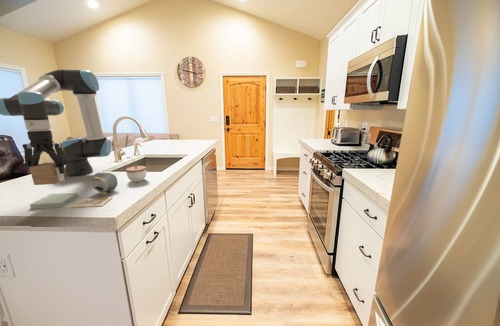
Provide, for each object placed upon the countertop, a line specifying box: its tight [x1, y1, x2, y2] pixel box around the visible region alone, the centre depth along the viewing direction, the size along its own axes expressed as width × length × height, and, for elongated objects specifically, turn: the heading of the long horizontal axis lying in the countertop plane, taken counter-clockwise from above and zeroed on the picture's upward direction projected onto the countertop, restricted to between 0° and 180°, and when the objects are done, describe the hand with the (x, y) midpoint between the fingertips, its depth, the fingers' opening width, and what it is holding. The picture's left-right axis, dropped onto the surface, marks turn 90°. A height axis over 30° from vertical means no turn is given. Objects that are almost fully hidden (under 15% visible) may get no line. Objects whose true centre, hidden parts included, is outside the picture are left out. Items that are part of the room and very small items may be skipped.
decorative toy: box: [91, 172, 118, 195], centre depth 109 cm, size 12×10×20 cm
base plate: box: [29, 192, 79, 210], centre depth 100 cm, size 12×12×2 cm
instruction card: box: [69, 196, 113, 209], centre depth 99 cm, size 9×13×1 cm
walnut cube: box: [29, 161, 68, 186], centre depth 96 cm, size 8×8×8 cm
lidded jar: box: [125, 165, 147, 183], centre depth 129 cm, size 11×11×9 cm
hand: (51, 180), depth 97 cm, fingers closed on walnut cube, 8 cm apart
